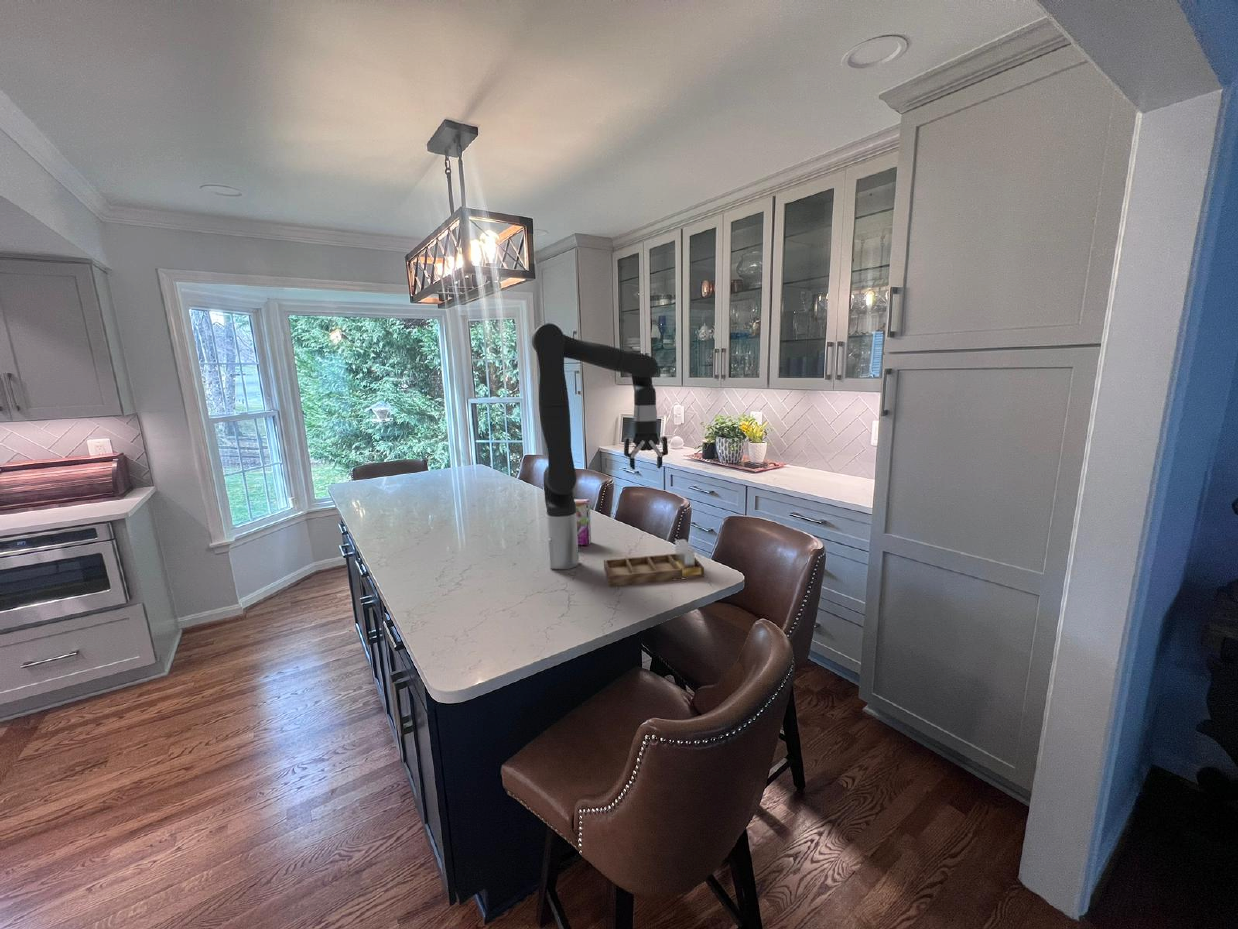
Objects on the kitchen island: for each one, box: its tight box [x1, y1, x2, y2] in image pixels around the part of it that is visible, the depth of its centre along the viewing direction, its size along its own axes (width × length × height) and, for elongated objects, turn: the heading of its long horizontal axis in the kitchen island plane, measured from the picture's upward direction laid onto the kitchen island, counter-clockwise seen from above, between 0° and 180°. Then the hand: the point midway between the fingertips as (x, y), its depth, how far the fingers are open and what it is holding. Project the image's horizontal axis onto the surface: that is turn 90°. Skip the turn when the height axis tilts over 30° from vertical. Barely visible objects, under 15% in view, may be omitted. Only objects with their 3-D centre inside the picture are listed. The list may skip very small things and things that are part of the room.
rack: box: [603, 553, 705, 587], centre depth 150 cm, size 28×14×3 cm, turn 99°
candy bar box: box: [574, 498, 592, 547], centre depth 180 cm, size 11×5×16 cm, turn 84°
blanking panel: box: [674, 538, 695, 569], centre depth 152 cm, size 3×10×7 cm, turn 9°
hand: (646, 468), depth 163 cm, fingers open, 8 cm apart
